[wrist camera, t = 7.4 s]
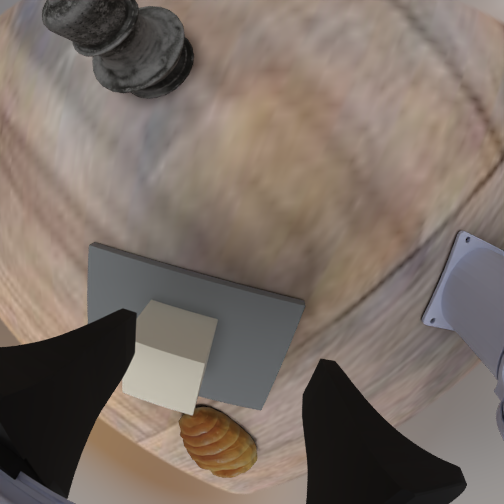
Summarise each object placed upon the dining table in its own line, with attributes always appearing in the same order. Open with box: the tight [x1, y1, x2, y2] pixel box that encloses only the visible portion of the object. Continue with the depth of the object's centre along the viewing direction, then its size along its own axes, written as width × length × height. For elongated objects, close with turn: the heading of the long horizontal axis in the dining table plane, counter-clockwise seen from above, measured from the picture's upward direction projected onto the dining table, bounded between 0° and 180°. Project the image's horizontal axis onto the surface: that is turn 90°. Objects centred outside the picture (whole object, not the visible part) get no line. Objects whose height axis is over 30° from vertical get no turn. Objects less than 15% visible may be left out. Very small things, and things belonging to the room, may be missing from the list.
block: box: [122, 300, 218, 415], centre depth 19 cm, size 5×5×5 cm
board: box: [87, 242, 305, 410], centre depth 21 cm, size 16×11×1 cm
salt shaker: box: [42, 0, 194, 98], centre depth 10 cm, size 6×6×12 cm
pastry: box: [179, 407, 257, 478], centre depth 24 cm, size 9×7×4 cm
